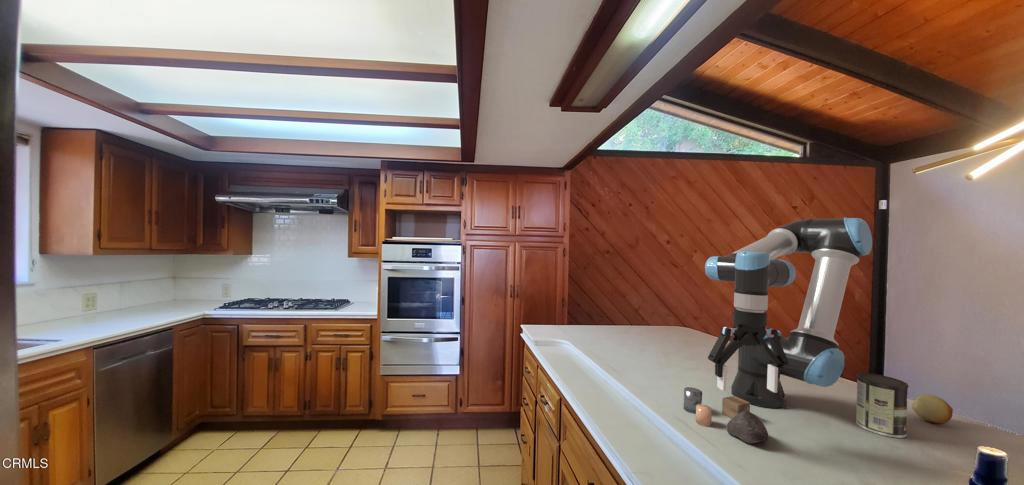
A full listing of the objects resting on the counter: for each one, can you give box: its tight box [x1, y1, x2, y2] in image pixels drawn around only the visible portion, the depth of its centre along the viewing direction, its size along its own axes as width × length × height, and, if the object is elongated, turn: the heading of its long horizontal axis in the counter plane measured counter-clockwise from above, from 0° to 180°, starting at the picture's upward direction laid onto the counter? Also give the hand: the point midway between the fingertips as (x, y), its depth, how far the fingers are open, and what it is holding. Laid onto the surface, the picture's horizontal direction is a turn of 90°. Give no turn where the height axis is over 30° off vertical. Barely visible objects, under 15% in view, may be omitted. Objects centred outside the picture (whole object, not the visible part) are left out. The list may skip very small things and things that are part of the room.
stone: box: [726, 411, 769, 445], centre depth 96 cm, size 10×8×10 cm
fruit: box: [911, 393, 954, 425], centre depth 108 cm, size 8×8×8 cm
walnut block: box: [721, 395, 751, 420], centre depth 108 cm, size 5×5×5 cm
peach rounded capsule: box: [695, 403, 713, 428], centre depth 104 cm, size 4×4×4 cm
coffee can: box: [855, 372, 909, 439], centre depth 103 cm, size 10×10×14 cm
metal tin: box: [683, 386, 703, 415], centre depth 112 cm, size 5×5×6 cm
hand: (746, 389), depth 96 cm, fingers open, 13 cm apart
